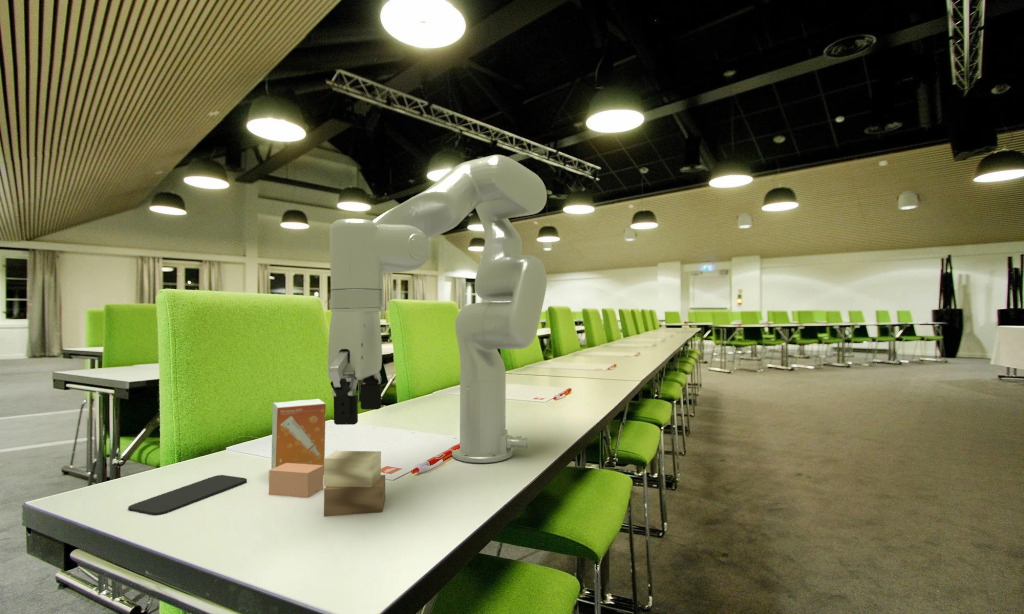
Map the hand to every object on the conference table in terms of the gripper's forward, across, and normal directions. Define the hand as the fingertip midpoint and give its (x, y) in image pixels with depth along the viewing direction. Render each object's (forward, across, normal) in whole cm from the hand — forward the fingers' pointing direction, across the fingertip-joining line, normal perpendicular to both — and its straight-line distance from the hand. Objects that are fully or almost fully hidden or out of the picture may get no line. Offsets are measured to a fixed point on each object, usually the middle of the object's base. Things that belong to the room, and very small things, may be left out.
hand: (359, 415), depth 69 cm
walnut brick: (+14, +1, 0) cm, 14 cm away
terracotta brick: (+14, -5, -13) cm, 19 cm away
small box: (+14, -13, -17) cm, 25 cm away
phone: (+14, -3, -29) cm, 32 cm away
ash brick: (+10, +1, -1) cm, 10 cm away
